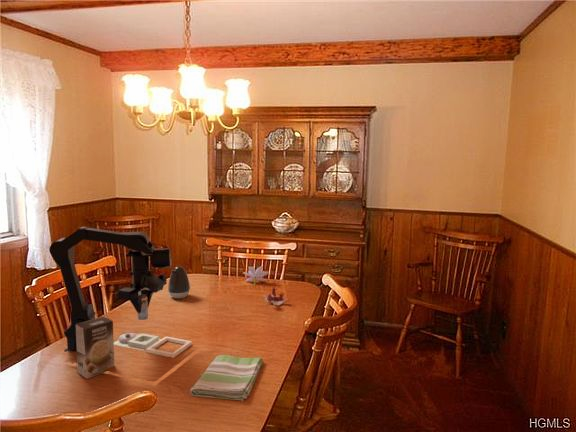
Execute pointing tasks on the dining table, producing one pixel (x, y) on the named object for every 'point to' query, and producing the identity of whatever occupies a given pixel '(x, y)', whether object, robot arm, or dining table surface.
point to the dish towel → (228, 378)
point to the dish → (169, 354)
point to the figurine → (274, 298)
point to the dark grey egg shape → (178, 283)
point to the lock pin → (143, 309)
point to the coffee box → (94, 346)
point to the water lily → (255, 274)
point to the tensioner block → (137, 341)
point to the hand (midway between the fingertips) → (142, 311)
